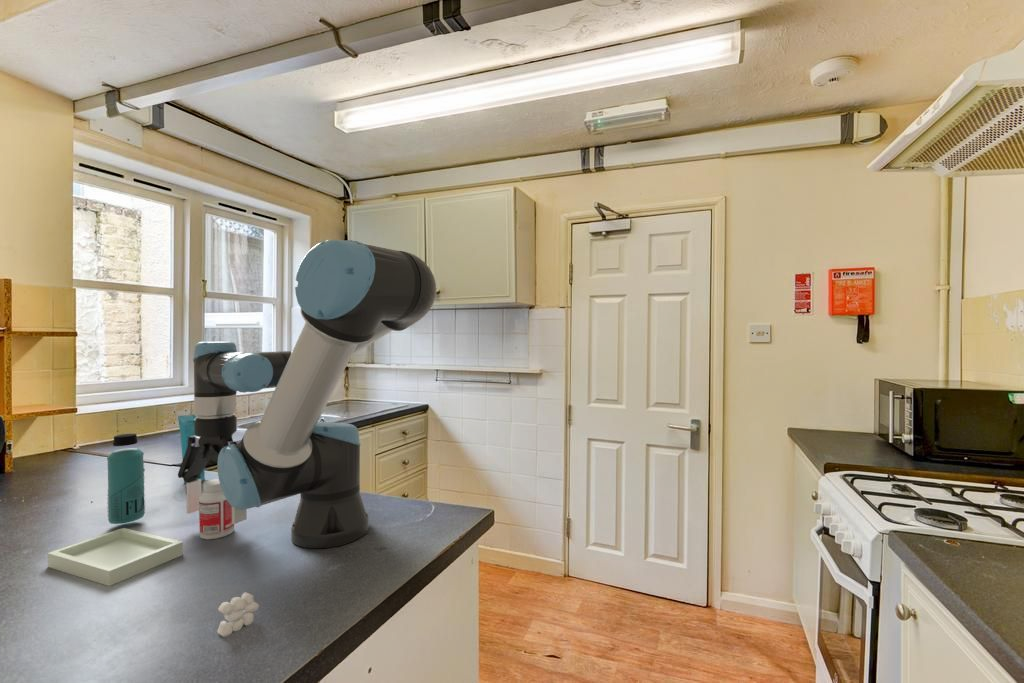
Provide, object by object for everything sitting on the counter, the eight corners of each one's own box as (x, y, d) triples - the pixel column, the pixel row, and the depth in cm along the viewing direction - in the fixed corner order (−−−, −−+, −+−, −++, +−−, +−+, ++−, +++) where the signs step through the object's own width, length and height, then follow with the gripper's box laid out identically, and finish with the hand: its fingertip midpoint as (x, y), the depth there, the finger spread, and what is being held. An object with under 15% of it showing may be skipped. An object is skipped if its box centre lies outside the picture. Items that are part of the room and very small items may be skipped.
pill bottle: (229, 525, 103) (228, 475, 103) (238, 533, 99) (237, 481, 99) (195, 534, 98) (195, 481, 98) (204, 543, 94) (203, 488, 94)
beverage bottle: (124, 532, 100) (122, 438, 99) (98, 530, 101) (97, 436, 101) (153, 520, 106) (152, 431, 106) (129, 518, 107) (128, 430, 107)
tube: (202, 476, 139) (201, 411, 139) (212, 478, 137) (211, 412, 137) (175, 483, 133) (174, 415, 133) (184, 485, 131) (184, 416, 130)
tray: (183, 554, 89) (182, 541, 89) (109, 586, 78) (109, 571, 78) (123, 540, 96) (123, 527, 96) (47, 566, 85) (47, 553, 85)
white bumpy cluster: (221, 638, 64) (223, 605, 65) (215, 635, 65) (218, 602, 65) (257, 623, 68) (259, 591, 69) (252, 620, 69) (254, 588, 70)
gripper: (275, 416, 97) (275, 518, 98) (193, 408, 106) (193, 501, 107) (242, 423, 90) (242, 533, 91) (157, 413, 100) (158, 513, 100)
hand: (216, 516), depth 99 cm, fingers open, 13 cm apart
